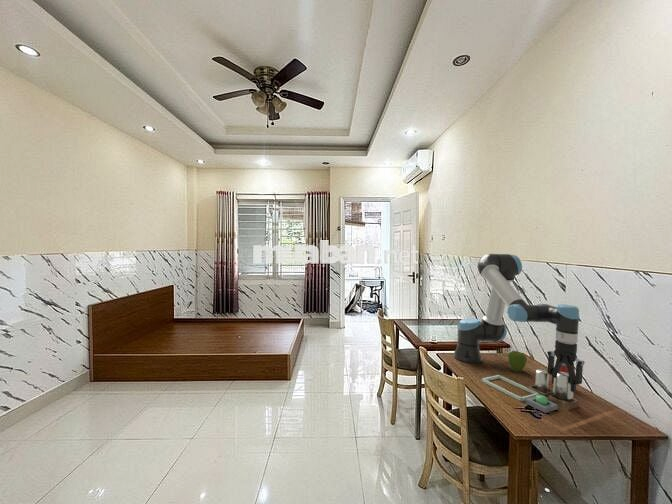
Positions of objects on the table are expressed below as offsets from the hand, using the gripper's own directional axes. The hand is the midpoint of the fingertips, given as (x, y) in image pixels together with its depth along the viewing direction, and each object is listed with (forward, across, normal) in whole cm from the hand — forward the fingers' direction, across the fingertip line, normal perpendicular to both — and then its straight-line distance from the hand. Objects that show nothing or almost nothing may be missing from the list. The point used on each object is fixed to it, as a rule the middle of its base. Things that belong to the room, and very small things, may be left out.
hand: (562, 395), depth 133 cm
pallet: (+5, -4, 0) cm, 6 cm away
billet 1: (+3, -9, 0) cm, 10 cm away
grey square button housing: (+4, -1, -12) cm, 13 cm away
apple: (+5, -31, +15) cm, 35 cm away
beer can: (+5, -10, +18) cm, 21 cm away
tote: (+5, -17, -10) cm, 21 cm away
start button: (+2, -1, -12) cm, 12 cm away
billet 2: (+1, 0, 0) cm, 1 cm away
